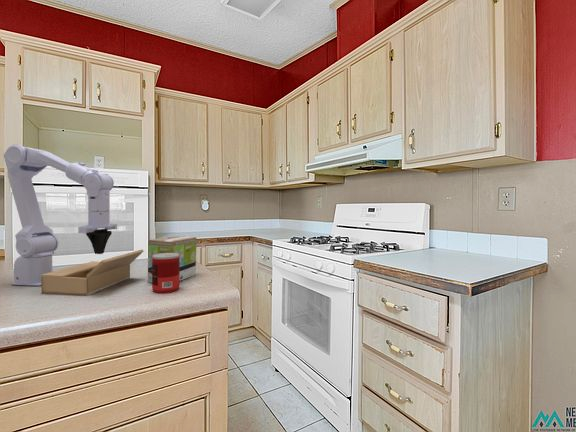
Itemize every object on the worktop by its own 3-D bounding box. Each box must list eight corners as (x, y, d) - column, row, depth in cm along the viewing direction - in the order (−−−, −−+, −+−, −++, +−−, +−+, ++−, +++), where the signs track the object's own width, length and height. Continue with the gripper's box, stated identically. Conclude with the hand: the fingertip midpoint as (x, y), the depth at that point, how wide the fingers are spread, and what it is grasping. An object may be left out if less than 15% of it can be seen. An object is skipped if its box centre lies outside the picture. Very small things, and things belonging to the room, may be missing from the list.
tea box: (173, 285, 96) (173, 240, 96) (146, 283, 98) (146, 239, 98) (196, 274, 111) (197, 236, 110) (172, 272, 113) (173, 234, 112)
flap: (102, 260, 83) (103, 262, 83) (142, 249, 103) (143, 251, 103) (85, 275, 84) (87, 277, 84) (129, 262, 103) (130, 263, 103)
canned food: (184, 287, 94) (184, 253, 93) (166, 294, 86) (166, 258, 86) (165, 285, 96) (165, 251, 96) (146, 291, 89) (146, 255, 88)
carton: (41, 293, 85) (41, 274, 85) (92, 276, 105) (92, 261, 105) (86, 295, 84) (86, 276, 84) (129, 278, 104) (129, 262, 103)
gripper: (94, 212, 85) (94, 258, 86) (125, 211, 100) (125, 250, 101) (71, 211, 86) (71, 257, 87) (106, 210, 100) (106, 249, 101)
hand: (99, 253), depth 94 cm, fingers closed
